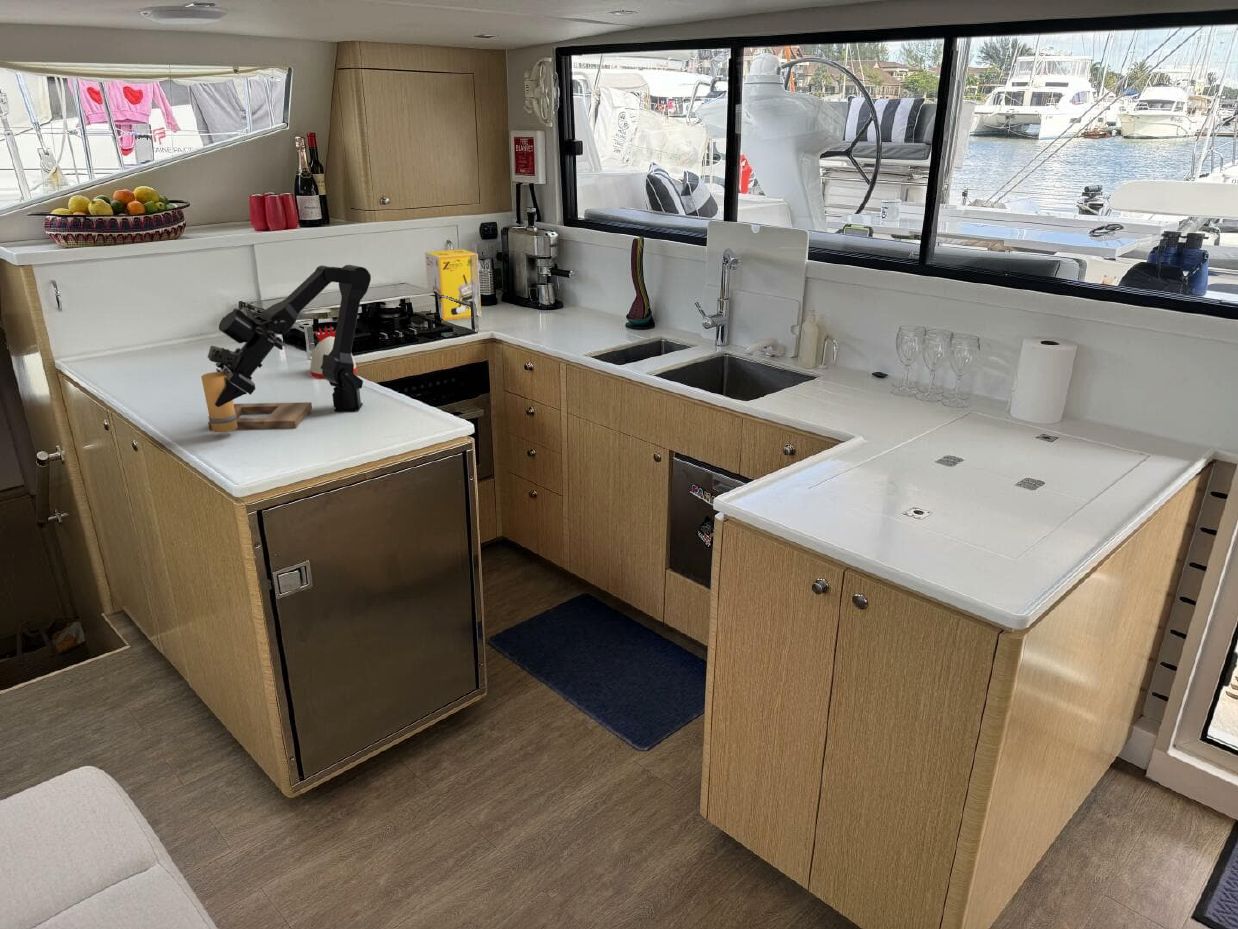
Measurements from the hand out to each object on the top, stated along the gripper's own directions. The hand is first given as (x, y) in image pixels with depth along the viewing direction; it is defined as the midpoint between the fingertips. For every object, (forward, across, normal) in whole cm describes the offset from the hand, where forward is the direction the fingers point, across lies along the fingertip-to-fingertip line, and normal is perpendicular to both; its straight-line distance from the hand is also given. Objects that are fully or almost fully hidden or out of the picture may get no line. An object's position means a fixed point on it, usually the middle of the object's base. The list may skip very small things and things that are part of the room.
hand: (214, 402), depth 218 cm
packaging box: (-70, -105, +84) cm, 152 cm away
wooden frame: (-2, -9, +15) cm, 18 cm away
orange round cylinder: (+4, 0, +6) cm, 7 cm away
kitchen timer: (-23, -44, +36) cm, 62 cm away
